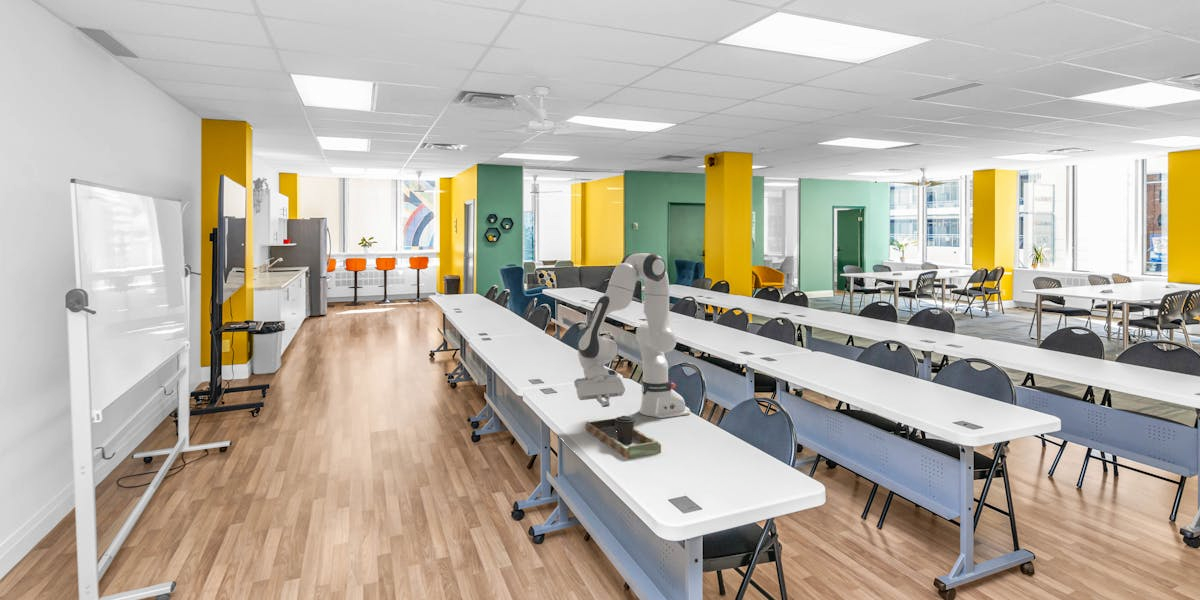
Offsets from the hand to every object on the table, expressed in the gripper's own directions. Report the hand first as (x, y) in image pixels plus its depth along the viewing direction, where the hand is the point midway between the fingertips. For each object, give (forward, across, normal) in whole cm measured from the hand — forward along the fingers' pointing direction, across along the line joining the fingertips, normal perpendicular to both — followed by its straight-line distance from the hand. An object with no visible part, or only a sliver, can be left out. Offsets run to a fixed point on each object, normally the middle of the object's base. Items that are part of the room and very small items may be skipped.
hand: (606, 406), depth 253 cm
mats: (+9, +1, +6) cm, 11 cm away
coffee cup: (+18, +1, -3) cm, 19 cm away
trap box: (+16, +1, -1) cm, 16 cm away
